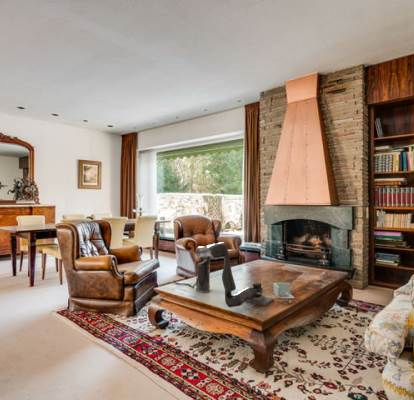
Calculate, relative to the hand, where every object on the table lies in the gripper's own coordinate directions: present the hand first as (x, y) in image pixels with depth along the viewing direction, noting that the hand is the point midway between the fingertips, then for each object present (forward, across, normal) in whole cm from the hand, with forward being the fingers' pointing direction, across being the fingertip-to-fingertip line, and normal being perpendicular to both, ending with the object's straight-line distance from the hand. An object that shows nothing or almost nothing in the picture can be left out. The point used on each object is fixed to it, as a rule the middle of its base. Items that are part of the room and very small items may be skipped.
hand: (258, 288), depth 215 cm
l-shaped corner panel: (+20, -10, +8) cm, 24 cm away
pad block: (-3, 0, +6) cm, 7 cm away
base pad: (-3, 0, +8) cm, 8 cm away
